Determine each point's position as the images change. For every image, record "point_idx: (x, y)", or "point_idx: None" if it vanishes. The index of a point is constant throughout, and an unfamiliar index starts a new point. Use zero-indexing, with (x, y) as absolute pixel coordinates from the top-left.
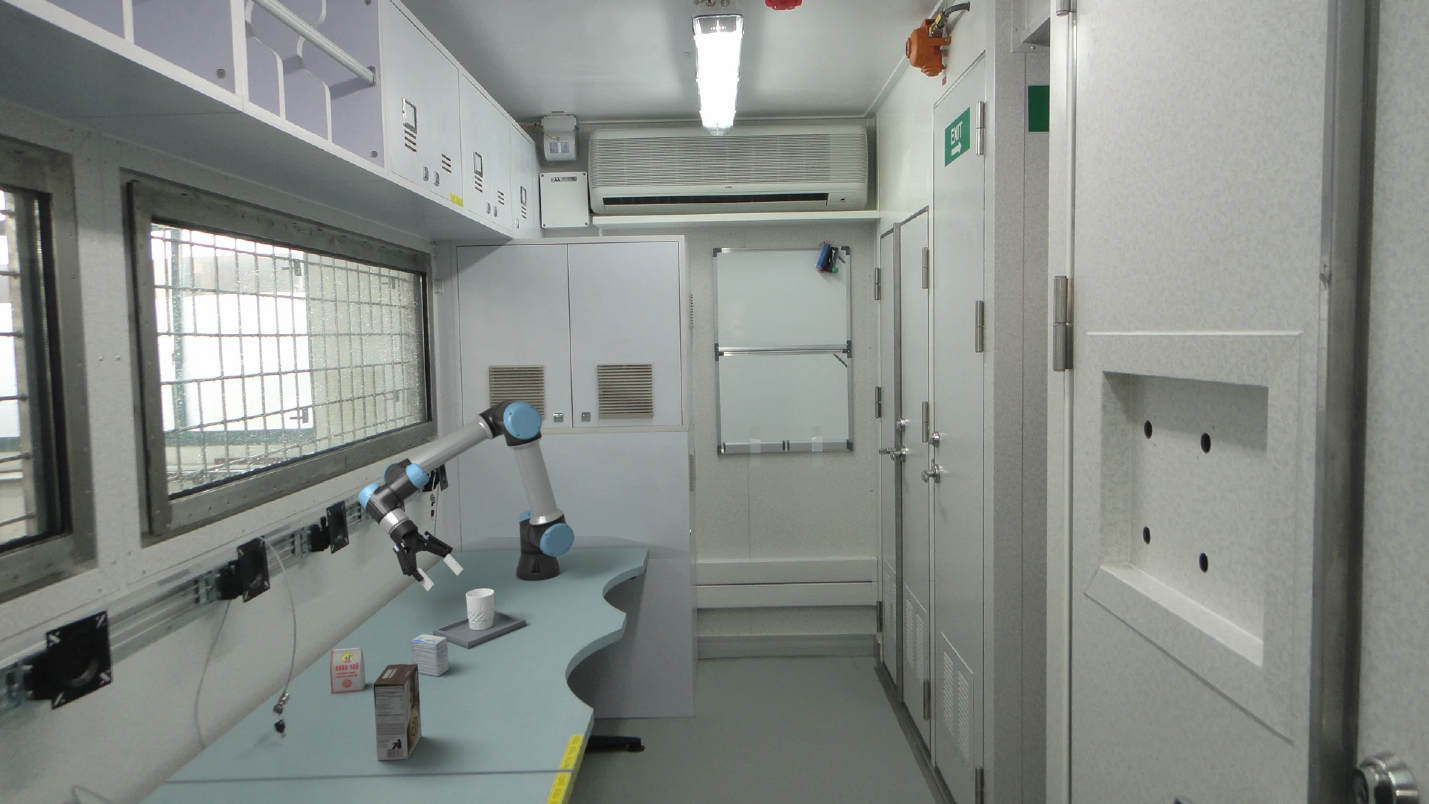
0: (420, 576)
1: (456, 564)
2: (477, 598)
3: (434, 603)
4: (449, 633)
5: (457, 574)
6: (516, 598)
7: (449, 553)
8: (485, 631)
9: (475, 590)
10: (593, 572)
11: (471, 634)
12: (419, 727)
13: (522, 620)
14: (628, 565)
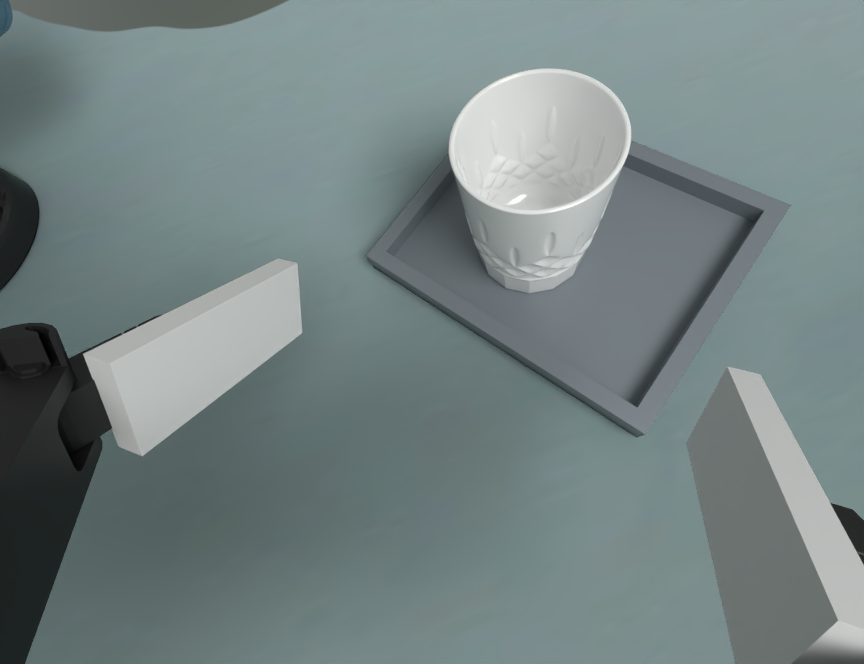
0: (858, 542)
1: (247, 296)
2: (627, 121)
3: (189, 593)
4: (627, 354)
5: (298, 325)
6: (209, 234)
7: (70, 363)
8: None
9: (471, 189)
10: (26, 84)
11: (630, 253)
12: None
13: None
14: None
